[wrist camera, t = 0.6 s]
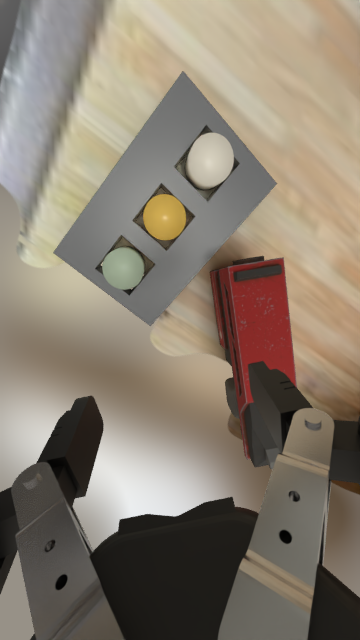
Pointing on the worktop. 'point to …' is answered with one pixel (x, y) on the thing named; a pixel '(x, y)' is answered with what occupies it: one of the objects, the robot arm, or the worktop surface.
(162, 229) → the button amber
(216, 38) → the worktop surface
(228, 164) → the button ivory
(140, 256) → the button sage
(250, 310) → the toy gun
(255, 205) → the panel
